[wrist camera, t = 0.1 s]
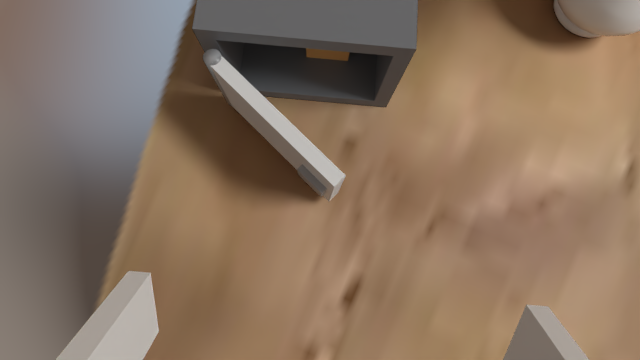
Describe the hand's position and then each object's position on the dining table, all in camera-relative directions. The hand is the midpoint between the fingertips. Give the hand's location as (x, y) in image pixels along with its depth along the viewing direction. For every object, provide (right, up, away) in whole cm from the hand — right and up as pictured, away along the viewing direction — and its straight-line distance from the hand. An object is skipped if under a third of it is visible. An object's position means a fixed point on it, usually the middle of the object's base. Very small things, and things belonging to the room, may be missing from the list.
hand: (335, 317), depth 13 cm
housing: (-1, +18, +19) cm, 26 cm away
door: (-4, +8, +16) cm, 18 cm away
